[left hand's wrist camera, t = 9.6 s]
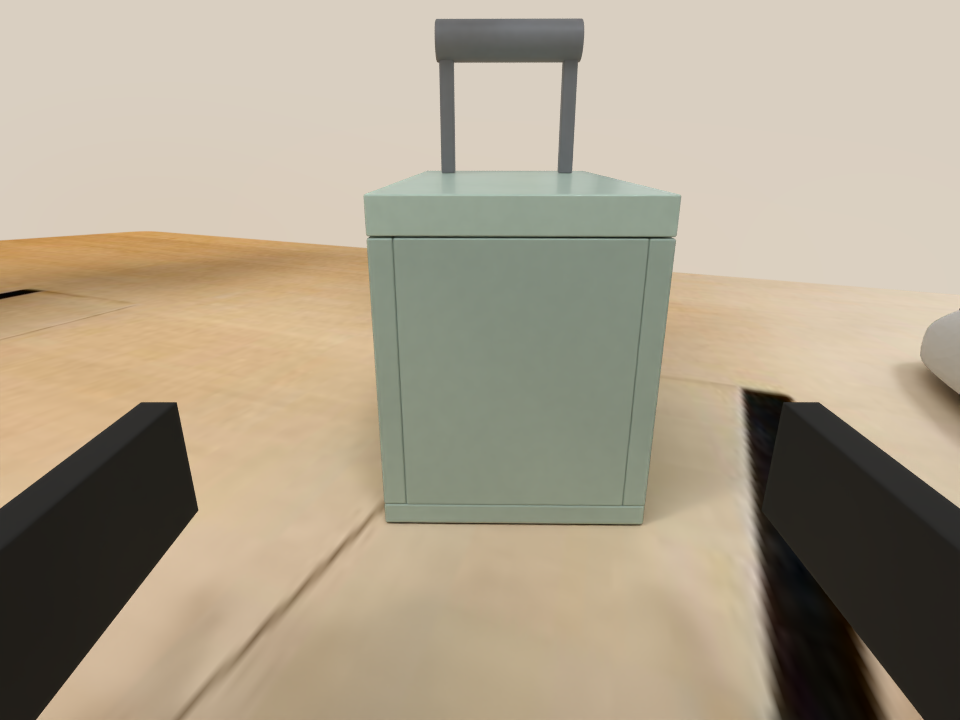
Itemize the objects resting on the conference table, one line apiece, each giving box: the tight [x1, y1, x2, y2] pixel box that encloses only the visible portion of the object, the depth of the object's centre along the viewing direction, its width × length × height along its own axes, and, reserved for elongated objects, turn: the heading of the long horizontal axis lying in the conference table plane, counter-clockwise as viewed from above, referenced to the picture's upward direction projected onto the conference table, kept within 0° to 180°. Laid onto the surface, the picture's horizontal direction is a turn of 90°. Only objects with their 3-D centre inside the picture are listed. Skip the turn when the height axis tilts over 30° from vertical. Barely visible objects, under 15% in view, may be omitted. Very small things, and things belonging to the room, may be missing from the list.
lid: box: [364, 19, 681, 237], centre depth 24 cm, size 18×9×8 cm, turn 179°
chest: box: [367, 236, 676, 524], centre depth 27 cm, size 17×9×10 cm, turn 179°
